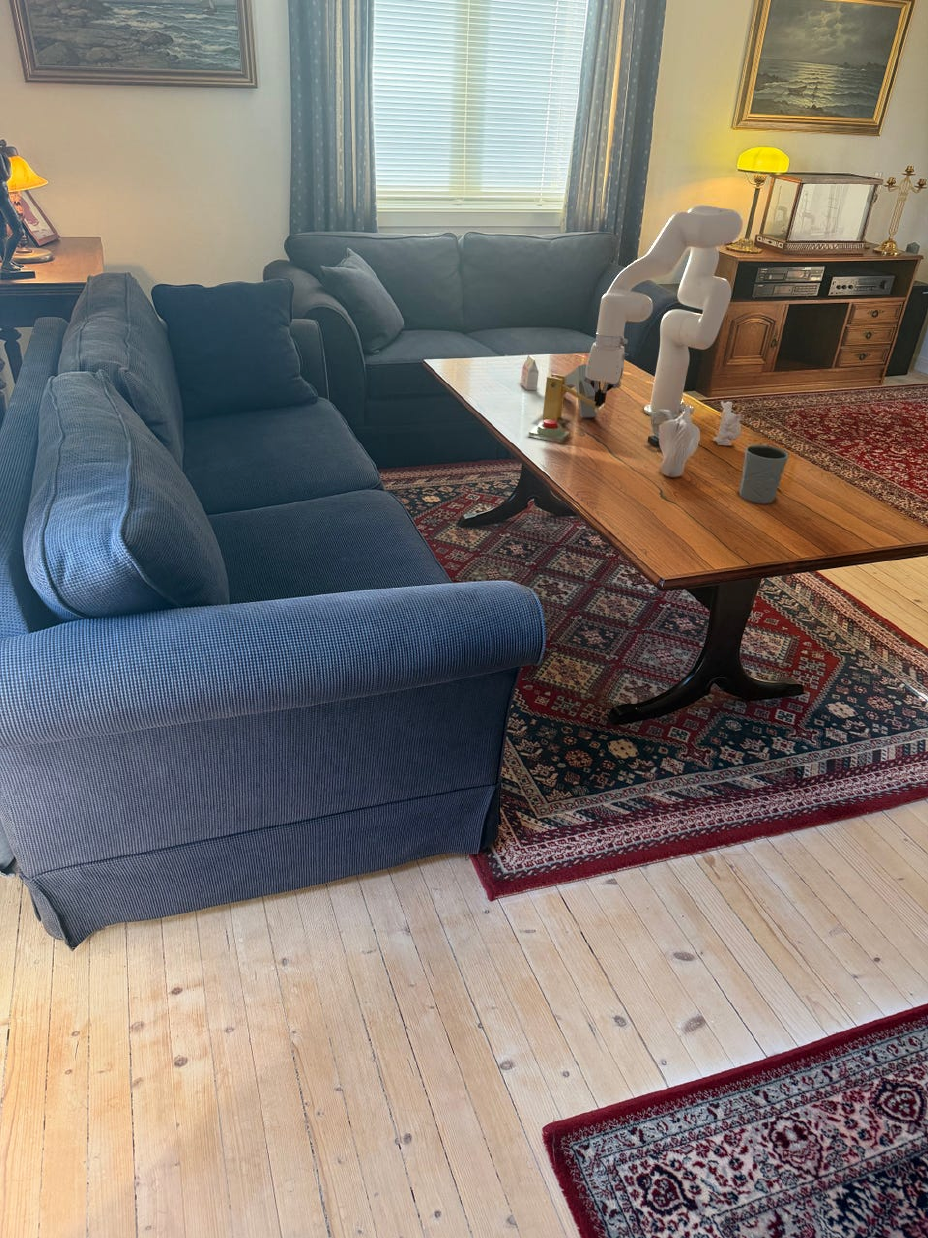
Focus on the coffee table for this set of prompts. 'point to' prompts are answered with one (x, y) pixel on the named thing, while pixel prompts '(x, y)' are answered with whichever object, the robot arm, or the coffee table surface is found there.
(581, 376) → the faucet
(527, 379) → the milk carton
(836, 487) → the coffee table surface
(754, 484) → the grey cup
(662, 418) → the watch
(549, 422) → the stop button
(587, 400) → the tap lever
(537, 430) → the button box
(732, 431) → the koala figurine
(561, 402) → the bracket
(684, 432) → the shell sculpture
